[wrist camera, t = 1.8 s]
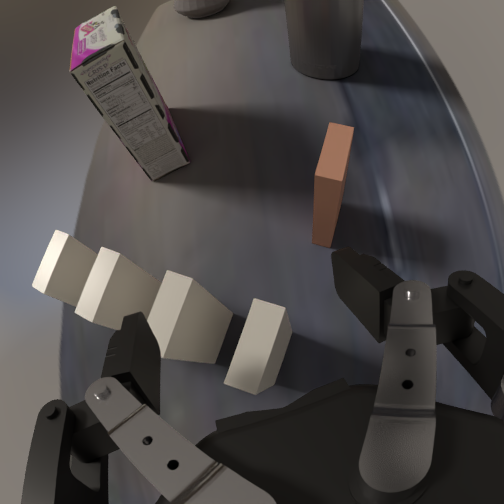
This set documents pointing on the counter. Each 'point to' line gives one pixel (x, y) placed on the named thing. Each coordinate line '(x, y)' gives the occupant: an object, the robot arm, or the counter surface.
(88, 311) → the domino
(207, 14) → the coffee pot
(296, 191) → the counter surface
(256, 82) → the counter surface
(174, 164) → the candy bar box
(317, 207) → the domino
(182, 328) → the domino
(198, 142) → the counter surface
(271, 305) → the domino
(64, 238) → the domino
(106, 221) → the counter surface
